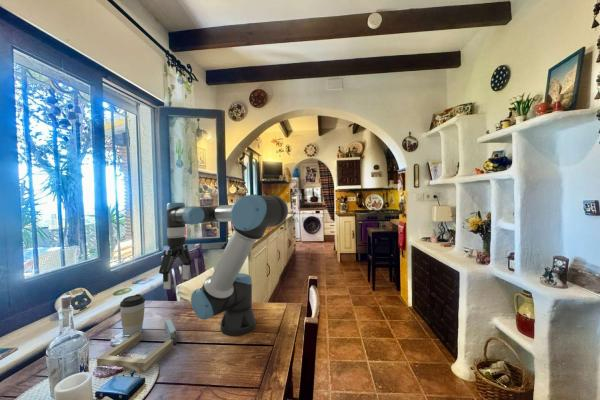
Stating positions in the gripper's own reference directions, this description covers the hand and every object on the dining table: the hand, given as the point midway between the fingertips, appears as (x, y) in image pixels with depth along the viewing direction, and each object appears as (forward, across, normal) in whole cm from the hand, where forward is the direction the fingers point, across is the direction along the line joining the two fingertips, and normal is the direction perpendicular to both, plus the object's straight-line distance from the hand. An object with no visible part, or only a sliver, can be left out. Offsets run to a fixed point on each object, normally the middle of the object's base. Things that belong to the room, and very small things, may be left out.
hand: (176, 283), depth 113 cm
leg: (+18, +9, +3) cm, 21 cm away
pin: (+19, +14, +8) cm, 25 cm away
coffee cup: (+18, +8, -15) cm, 25 cm away
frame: (+19, +22, 0) cm, 29 cm away
